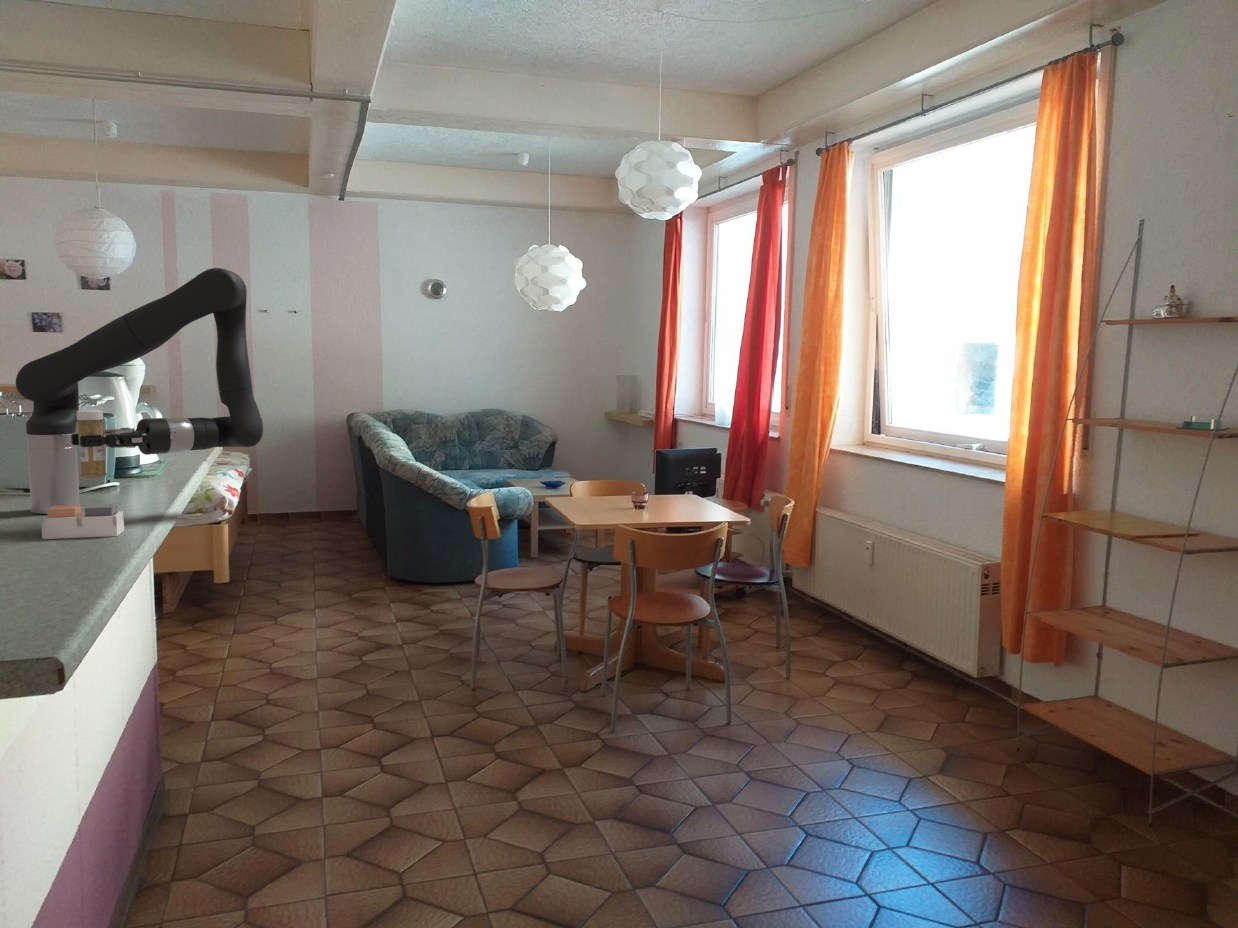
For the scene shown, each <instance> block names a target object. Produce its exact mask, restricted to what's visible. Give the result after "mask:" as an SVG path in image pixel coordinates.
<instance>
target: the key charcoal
mask: <svg viewBox="0 0 1238 928" xmlns="http://www.w3.org/2000/svg"><path fill="white" fill-rule="evenodd" d="M117 511H118V504H117V503H99V504H98V503H94V504H93V503H91V504H89V505H87V506H86V507H84V512H85V517H92V516H114V515H115V514H116V513H117Z"/></svg>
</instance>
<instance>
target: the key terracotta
mask: <svg viewBox="0 0 1238 928" xmlns="http://www.w3.org/2000/svg"><path fill="white" fill-rule="evenodd" d="M82 510H83V509H82V504H80V505H54V506H53V507H51V508H49V509H48V514H47V515H48V518H61V517H78V516H79V515H81V514H82V512H83V511H82Z"/></svg>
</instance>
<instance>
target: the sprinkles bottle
mask: <svg viewBox="0 0 1238 928" xmlns="http://www.w3.org/2000/svg"><path fill="white" fill-rule="evenodd" d="M103 420H104V413H103V410H101V409H81V410H80V409H79V411H77V424H78V426H77V427H78V434H79V438H80V436H86V435H101V437H102V434H103V431H104V429H103V428H104V426H103V422H104V421H103ZM78 448H79V461H80V465H81V466H80V469H81V470H80V471H81V474H80V477H81V478H84V479H96V478H97V479H98V478H103V477H106V476H107V472H106V453H105V447H103V446H94V447H81V446H80V439H79V445H78Z"/></svg>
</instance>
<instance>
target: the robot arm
mask: <svg viewBox="0 0 1238 928" xmlns="http://www.w3.org/2000/svg"><path fill="white" fill-rule="evenodd" d="M247 291H248V290H247V286H246V283H245V281H244V280H243V278H242V277H241V276H240V275H239V274H237V273H236V272H235V271H231V270H229V269H225V268H221V267H213V268H208V269H206V270H204V271H202V272H201V273H199V274H197V275H196V276H195V277H193V278H191V279H190V280H189V281H187V282H186V283H185V284H183V285H181V286H180V287H178V288H176V289H175V290H174V291H172V292H170V293H168V294H167V295H164V296H162V297H159V298H157V299H155V300H152V301H151V302H148V303H146V304H143V305H142V306H139V307H137V308H135V309H133V310H131V311H129V312H127V313H124V314H122V315H121V316H119V317H117V318H115V319H113V320H112V321H110V322H108V323H106V324H105V325H103V326H101V327H99V328H97V329H96V330H93V331H92V332H90V333H89V334H87V335H86V336H84V337H83V338H81V339H79V340H78V341H76V342H74V343H72V344H70V345H69V346H66V347H64V348H63V349H60V350H57V351H55V352H53V353H49V354H48V355H45V356H41V357H39V358H36V359H34V360H31V361H29V362H27V363H25V364H24V365H23V366H22V367H21V368H20V370H18V373H17V374H16V377H15V388H16V390H17V392H18V393H19V395H20V396H22V397H23V398H24V399H26V400H28V401H31V402H33V409H32V413H31V415H30V417H29V418H28V420H27V421H26V422H25V423H26V424H25V429H26V430H25V431H26V447H27V462H28V465H27V466H28V481H29V484H28V485H29V499H30V512H31V513H33V514H40V515H41V514H44V515H45V514H47V515H48V509H49V508H51V507H53V506H54V505H81V504H80V487H79V486H80V484H79V482H80V481H79V465H78V448H77V447H78V446H79V439H80V446H81V447H94V446H103V447H104V448H108V447H109V448H113V449H114V448H115V449H123V448H126V449H132V448H133V449H135V448H136V447H138V449H139V451H140V453H142V454H143V455H146V456H147V455H148V456H149V455H159V454H161V455H162V454H176V453H182V452H189V451H199V450H200V451H201V450H202V451H203V450H209V449H213V448H226V447H227V448H228V447H230V448H232V447H233V448H235V447H237V448H251V447H254V446H257V445H258V444H259V443H260V441H261V440H262V437H263V434H264V423H263V420H262V417H261V413H260V411H259V407H258V404H257V402H256V400H255V397H254V391H253V390H254V389H253V383H252V375H251V367H250V361H249V354H248V353H249V352H248V344H247V329H246V327H247V324H246V322H247V321H246V320H247V318H246V317H247V316H246V314H247V296H248V295H247ZM212 314H213V318H214V321H215V326H216V339H217V340H216V341H217V342H216V343H217V344H216V345H217V346H216V357H215V369H216V370H215V371H216V379H217V387H218V394H219V399H220V402H221V403H222V404H223V406H225V407H226V408H227V409H228V414H229V416H228V415H227V416H220V417H217V416H216V417H212V418H211V417H159V418H158V417H157V418H142V419H140V420H139V421H138V422H137V425H136V429H135V428H133V427H131V428H130V427H121V428H113V429H111V428H108V429H105V430H103V434H102V437H101V435H86V436H80V438H79V433H76V432H77V429H76V428H77V427H76V426H77V424H78V420H77V411H80V406H79V403H80V401H79V399H80V397H79V396H80V395H79V393H80V392H79V382H80V381H83V380H84V379H86V378H88V377H90V376H93V375H96V374H98V373H100V372H104V371H107V370H111V369H113V368H117V367H120V366H122V365H124V364H128V363H130V362H133V361H135V360H138V359H139V358H142V357H143V356H145V355H147V354H149V353H150V352H152V351H154V350H156V349H158V348H160V347H161V346H163V345H165V343H167V342H168V341H170V340H171V339H172V337H174V336H175V335H176V334H178V332H180V330H181V329H183V328H184V327H186V326H188V325H189V324H191V323H193V322H194V321H197V320H199V319H202V318H205V317H206V316H208V315H212Z"/></svg>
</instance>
